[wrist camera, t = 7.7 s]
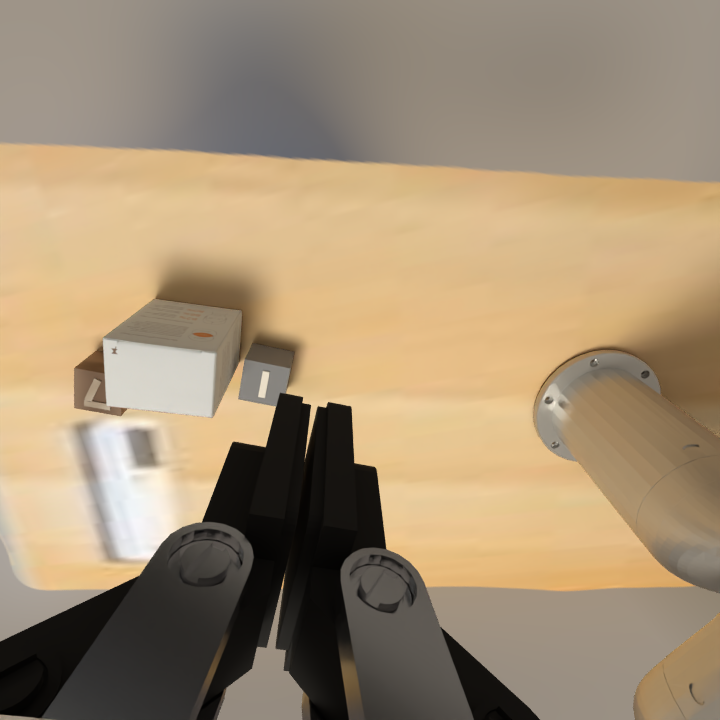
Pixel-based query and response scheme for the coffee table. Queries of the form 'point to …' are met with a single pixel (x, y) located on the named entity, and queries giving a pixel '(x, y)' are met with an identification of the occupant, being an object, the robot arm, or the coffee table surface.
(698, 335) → the coffee table surface
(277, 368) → the digit one block
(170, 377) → the small box
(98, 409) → the digit seven block
